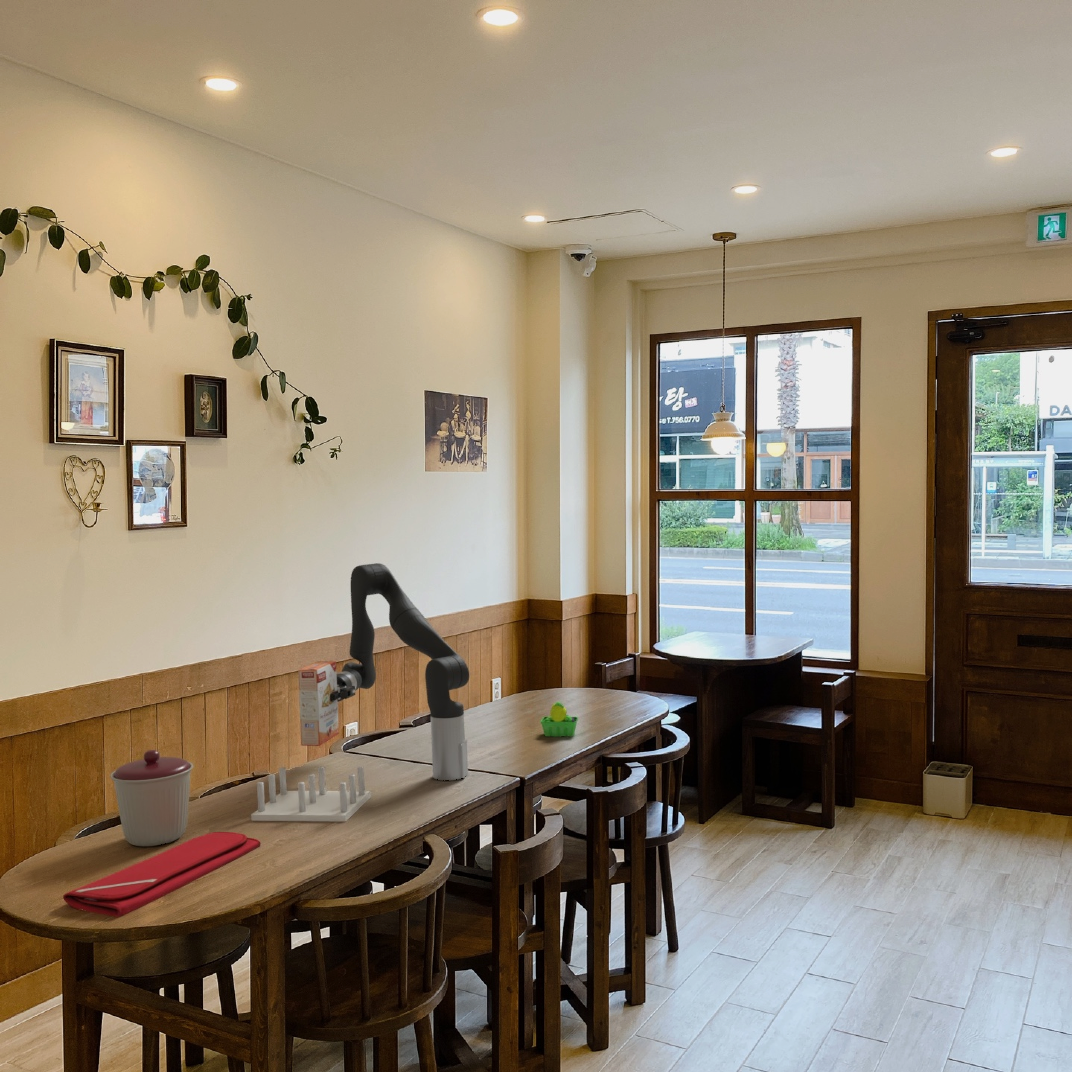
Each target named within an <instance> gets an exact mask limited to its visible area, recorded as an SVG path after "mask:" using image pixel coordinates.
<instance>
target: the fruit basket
mask: <svg viewBox="0 0 1072 1072" xmlns="http://www.w3.org/2000/svg"><path fill="white" fill-rule="evenodd" d="M567 711H568V710H567V709H566V707H565V706H564V705H563V704H562V702H561V701H556V702H555V703H553V704H552V705H551V709H550V714H549V715H550V716H543V717H542V719H541V720H540V724H541V728H542V730H543V733H544V736H545V737H561V736H566V737H567V736H571V737H572V738H573V737H574V735H575V733H576V728H577V722H578V720H579V717H578V716H571V715H568V714H567Z"/></svg>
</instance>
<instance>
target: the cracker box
mask: <svg viewBox="0 0 1072 1072" xmlns="http://www.w3.org/2000/svg"><path fill="white" fill-rule="evenodd" d="M297 672H298V673H297V675H298V677H297V678H298V680H297V681H298V700H299V701H298V702H299V726H300V728H299V729H300V746H302V747H303V746H304V747H305V746H306V747H307V746H308V747H321V746H323V744H326V743H327V742H328V741H330V740H331V739H333V738H335V737H337V735H339V734H340V731H339V729H340V726H339V705H338V703H339V702H338V699H337V700H335V701H334V702H331V701H330V694H331V693H333V692H334V691H336V690H337V673H338V672H337V661H335V660H320V661H316V662H314V663H311V664H308V665H306V666H304V667H301V668H300V669H297Z"/></svg>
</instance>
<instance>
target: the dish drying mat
mask: <svg viewBox="0 0 1072 1072" xmlns="http://www.w3.org/2000/svg"><path fill="white" fill-rule="evenodd" d="M261 844H262V843H261V841H260V840H259V839H257V838H254V837H253V838H252V837H248V836H247V835H246V834H245V833H238V832H231V831H214V832H208V833H206V834H204V835H200V836H196V837H193V838H191V839H189V840H187V841H184V842H183V843H181V844H178V845H176V846H174V847H171V848H170V849H168V850H165V851H163V852H161V853H158V854H157V855H154V856H152V857H150V858H149V857H148V858H147V859H144V860H142V861H139V862H137V863H135V864H132V865H130V866H128V867H126V868H124V869H123V868H122V869H121V870H118V871H115V872H114V873H111V874H108V875H107V876H105V877H102V878H100V879H98V880H95V881H93V882H89V883H87V884H85V885H83V886H80V887H77V888H75V889H72V890H70V891H68V892H66V893H64V894H63V898H62V899H63V900H64V902H65V903H67V904H68V905H69V906H70V907H71V908H74V909H75V908H76V909H75V910H78V909H83V910H86V911H85V912H88V911H89V912H90V913H94V912H95V914H101V915H107V916H112V917H116V918H120V917H123V916H125V915H127V914H129V913H131V912H132V911H135V910H137V909H140V908H141V907H144V906H145V905H148V904H150V903H152V902H153V901H156V900H158V899H160V898H161V897H164V896H166V895H168V894H170V893H172V892H174V891H176V890H178V889H180V888H182V887H183V886H186V885H187V884H189V883H191V882H193V881H195V880H198V879H199V878H202V877H203V876H206V875H207V874H209V873H212V872H213V871H215V870H217V869H220V868H222V867H223V866H225V865H227V864H228V863H231V862H233V861H235V860H237V859H238V858H240V857H242V856H245V855H247V854H248V853H250V852H251V851H254V850H255V849H257V848H259V847H260V846H261ZM83 910H82V911H83Z"/></svg>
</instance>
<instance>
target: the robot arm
mask: <svg viewBox="0 0 1072 1072" xmlns="http://www.w3.org/2000/svg"><path fill="white" fill-rule="evenodd" d="M372 595H373V596H374V595H381V596H382V597H383V599H385V600H386V602H387V603H388V605H389V611H388V612H389V613H388V619H389V624H390V627H391V629H392V630H393V631H394V633H395V634H396V635H397V637H398V638H399V639H400V640H401V641H402V642H403V643H404V644H405V645H407V646H408V647H410V648H411V649H414V650H415V651H418V652H419V653H422V654H424V655H425V656H427V657H429V658H430V659H431V660H429V661H428V663H427V664H426V666H425V672H424V673H425V674H424V678H425V688H426V689H425V690H426V698H427V699H426V701H427V704H428V705H427V706H428V709H429V713H430V734H431V735H430V736H431V737H430V738H431V758H432V759H431V760H432V761H431V762H432V777H433V779H435V780H437V779H438V781H443V780H444V781H445V780H449V781H457V780H462V779H461V778H464V779H465V778H466V777H467V776H468V774H469V764H468V763H469V762H468V740H467V739H466V735H465V709H464V704H463V703H462V702H460V701H457V700H456V701H455V700H452V699H451V695H450V691H451V690H452V691H453V690H456V689H460V688H464V687H465V686H466V685H467V684H468V682H469V680H470V670H469V666H468V665H467V663H466V661H465V660H464V658H463V657H462V656H461V655H460V654H459V653H457V652H456V651H455V649H453V648H452V647H451V645H449V644H448V643H447V642H446V641H445V640H444V639H443V637H442V636H440V634H439V633H438V632H437V631H436V630H435V628H434V627H433V626H432V624H430V622H429V621H428V620H427V619H426V618H425V616H424V614H422V612H421V611H420V610H419V609H418V608H417V607H416V606H415V604H414V603H413V602H412V601H411V600H410V598H409V597H408V595H407V594H406V593H405V591H404V590H403V589H402V587H401V586H400V584H399V582H398V581H397V579H396V578H395V576H394V575H393V574H392V572H391V570H390V569H389V568H388V567H387V566H386V565H385V564H383V563H379V562H378V563H376V562H375V563H369V564H368V563H367V564H359V565H357V566H355V567H354V568H353V569H352V571H351V576H350V607H351V636H350V645H349V656H350V657H351V658H352V659H354V660H357V662H359V663H357V662H346V663H345V664H344V665H343V666H342V670H341V671H340V672H337V690H336V691H334V692H333V693H331V694H330V701H331V702H334V701H335V700H337V699H338V703H339V702H342V701H344V700H348V699H349V698H351V697H354V696H356V691H357V690H358V689H363V690H364V689H365V690H369V689H371V687H373V686H374V684H375V682H376V679H377V678H376V677H377V674H376V673H377V672H376V668H375V667H376V666H375V660H374V645H375V644H374V643H375V638H376V637H375V628H374V625H373V623H372V621H371V619H370V617H369V614H368V612H367V605H366V604H367V598H368V596H372ZM465 776H466V777H465ZM456 779H457V780H456Z"/></svg>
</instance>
